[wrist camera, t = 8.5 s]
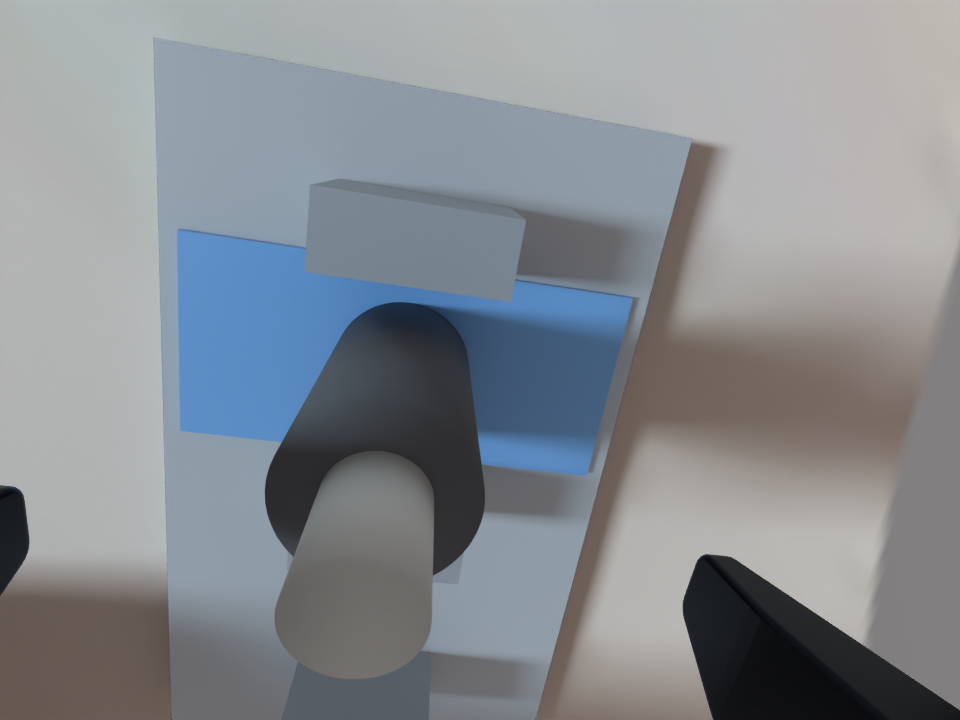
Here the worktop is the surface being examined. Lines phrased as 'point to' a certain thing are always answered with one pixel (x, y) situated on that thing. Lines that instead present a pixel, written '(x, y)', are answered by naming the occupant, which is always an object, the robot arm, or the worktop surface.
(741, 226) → the worktop surface
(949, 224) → the worktop surface
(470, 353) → the lever switch plate
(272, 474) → the knob
